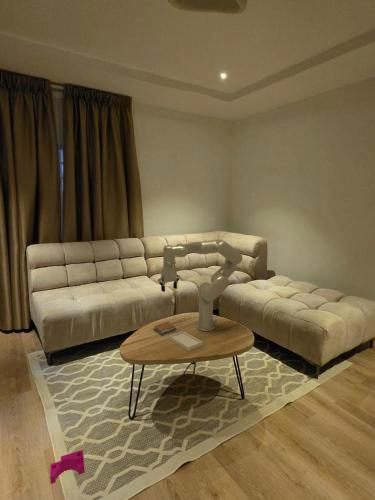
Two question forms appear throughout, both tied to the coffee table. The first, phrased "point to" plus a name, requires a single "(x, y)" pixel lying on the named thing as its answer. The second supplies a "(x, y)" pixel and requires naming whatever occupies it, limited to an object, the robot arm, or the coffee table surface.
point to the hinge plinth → (165, 331)
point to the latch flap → (164, 326)
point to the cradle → (185, 340)
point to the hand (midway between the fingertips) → (169, 289)
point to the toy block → (67, 465)
